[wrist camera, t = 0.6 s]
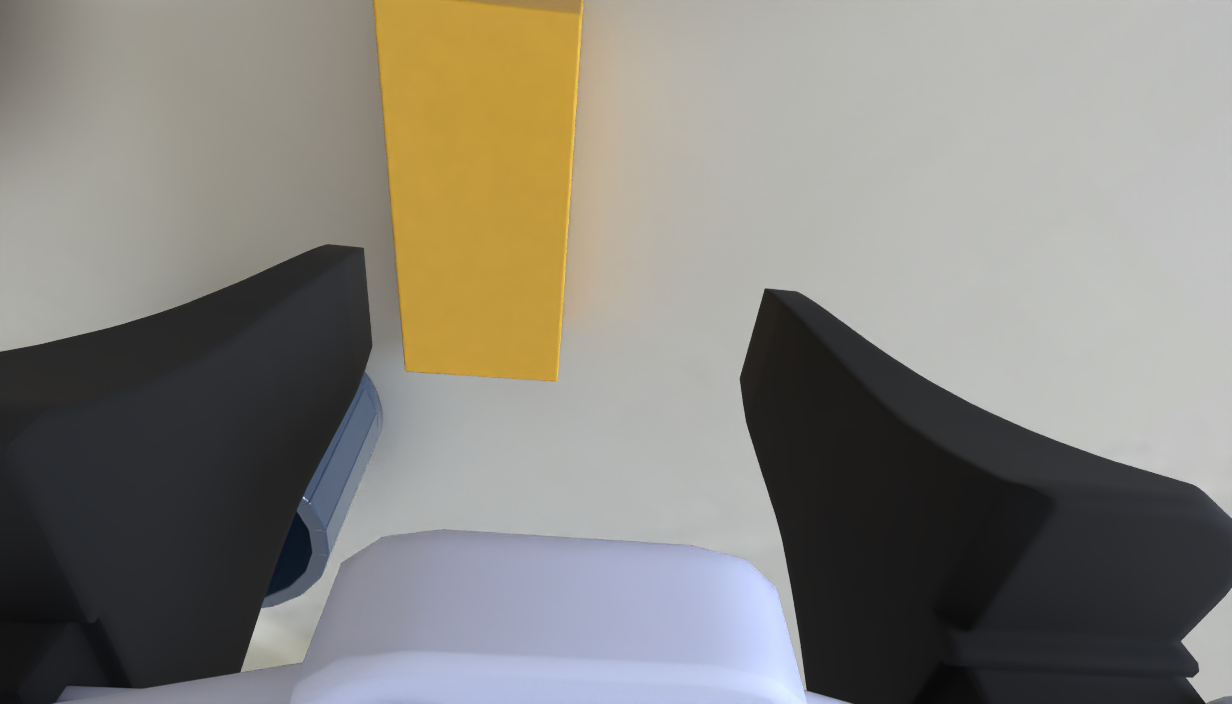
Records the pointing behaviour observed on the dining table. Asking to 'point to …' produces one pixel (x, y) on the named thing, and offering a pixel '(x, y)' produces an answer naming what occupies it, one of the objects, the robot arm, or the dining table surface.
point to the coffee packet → (480, 178)
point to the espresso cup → (327, 499)
